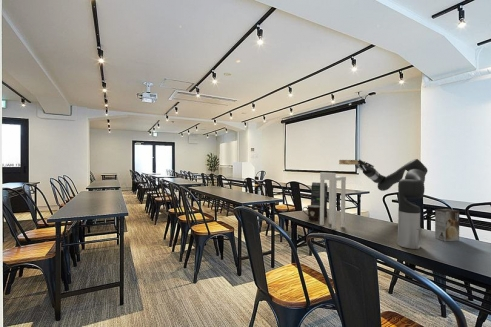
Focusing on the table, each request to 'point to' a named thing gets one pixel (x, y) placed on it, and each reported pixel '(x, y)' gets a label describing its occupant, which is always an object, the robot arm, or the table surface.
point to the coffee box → (447, 224)
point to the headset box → (318, 196)
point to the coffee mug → (313, 212)
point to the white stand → (332, 198)
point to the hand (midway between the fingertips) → (357, 160)
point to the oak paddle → (349, 162)
